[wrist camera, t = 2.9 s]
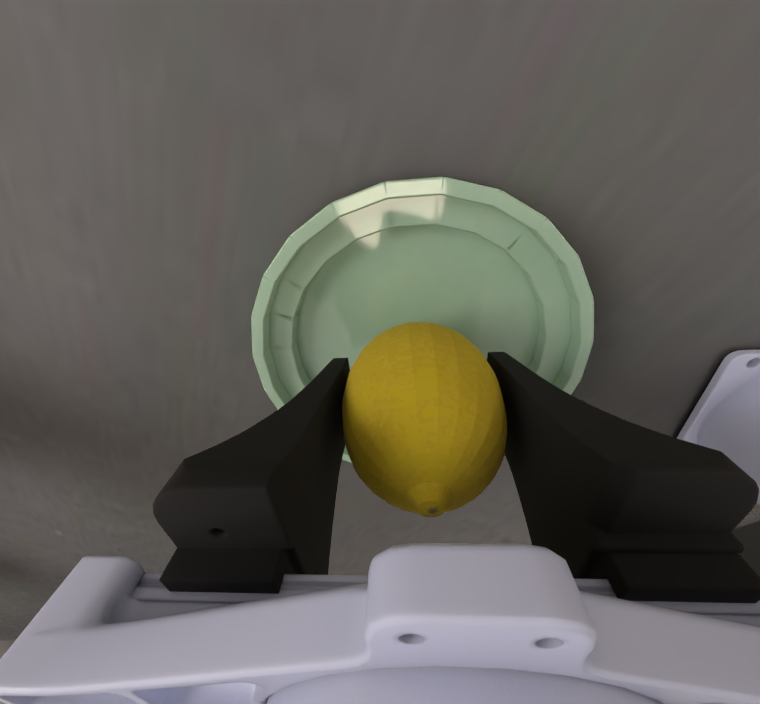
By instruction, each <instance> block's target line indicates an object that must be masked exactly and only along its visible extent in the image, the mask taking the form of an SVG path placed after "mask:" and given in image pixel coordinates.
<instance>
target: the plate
mask: <svg viewBox="0 0 760 704" xmlns="http://www.w3.org/2000/svg"><path fill="white" fill-rule="evenodd" d="M251 316H252V317H251V325H252V354H253V358H254V361H255V364H256V367H257V370H258V373H259V376H260V379H261V382H262V385H263V388H264V390H265V392H266V393H267V395H268V396H269V398H270V399H271V401H272V402H273V404H274V405H275V407H276V408H277V410H278V409H280V408H281V407H282V406H284V405H285V404H286V403H288V402H289V401H290V400H291V399H292V398H294V397H295V396H296V395H297V394H298V393H299V392H300V391H301V390H302V389H304V388H305V387H306V386H307V385H308V384H309V383H310V382H311V381H312V380H313V379H314V378H315V377H316V376H317V375H318V374H319V373H320V372H321V371H322V370H323V369H324V367H325V366H326V365H327V364H328V363H329V362H330V361H331V360H332V359H333V358H348V360H349V367H350V370H351V368H352V366H353V364H354V363H355V361H356V359H357V358H358V356H359V354H360V353H361V351H362V350H363V348H364V347H365V346H366V345H367V344H368V343H370V342H371V341H372V340H373V339H374V338H375V337H376V336H377V335H379V334H381V333H383V332H384V331H386V330H388V329H390V328H392V327H394V326H397V325H401V324H405V323H408V322H429V323H434V324H439V325H443V326H445V327H448V328H450V329H452V330H454V331H456V332H458V333H460V334H462V335H463V336H464V337H465V338H467V339H468V340H469V341H470V342H471V343H472V344H474V345H475V346H476V347H477V348H478V349H479V350H480V351H481V353H482V354H483V355H484V357H485V359H486V360H487V355H488V352H505V353H507V354H508V355H510V356H511V357H513V358H514V359H516V360H517V361H519V362H520V363H521V364H523V365H524V366H526V367H527V368H528V369H530V370H531V371H533V372H534V373H536V374H537V375H539V376H540V377H542V378H543V379H545V380H546V381H548V382H550V383H551V384H553V385H554V386H556V387H558V388H560V389H561V390H563V391H565V392H566V393H568V394H570V395H571V394H572V393H573V391H574V390H575V388H576V387H577V385H578V384H579V382H580V381H581V378H582V376H583V373H584V370H585V367H586V364H587V361H588V358H589V355H590V352H591V348H592V345H593V341H594V297H593V294H592V292H591V289H590V286H589V283H588V280H587V277H586V274H585V271H584V269H583V266H582V263H581V260H580V257H578V254H577V253H576V252H575V250H574V249H573V248H572V247H571V246H570V244H569V243H568V242H567V241H566V239H565V238H564V237H563V236H562V235H561V233H560V232H559V231H558V230H557V228H556V227H555V226H554V225H553V224H552V222H551V221H550V220H549V219H547V217H546V216H544V215H542V214H541V213H539V212H537V211H536V210H534V209H533V208H531V207H529V206H528V205H526V204H524V203H523V202H521V201H519V200H518V199H516V198H514V197H513V196H511V195H509V194H508V193H506V192H504V191H503V190H500V189H497V188H492V187H488V186H483V185H479V184H475V183H470V182H466V181H461V180H457V179H452V178H448V177H441V176H431V177H419V178H406V179H394V180H386V181H382V182H380V183H377V184H375V185H372V186H370V187H367V188H365V189H362V190H360V191H357V192H355V193H352V194H350V195H347V196H345V197H342V198H340V199H338V200H335V201H333V202H332V203H330V204H328V205H327V206H326V207H325V208H323V209H322V210H321V211H320V212H318V213H317V214H316V215H315V216H313V217H312V218H311V219H310V220H308V221H307V222H306V223H305V224H303V225H302V226H301V227H300V228H298V229H297V230H296V231H295V232H293V233H292V234H291V235H290V236H289V237H288V239H287V240H286V242H285V243H284V244H283V246H282V247H281V249H280V250H279V252H278V253H277V255H276V256H275V258H274V259H273V261H272V262H271V264H270V265H269V267H268V268H267V270H266V271H265V273H264V275H263V276H262V280H261V283H260V287H259V290H258V294H257V297H256V301H255V305H254V308H253V312H252V315H251ZM504 454H505V453H504ZM342 460H345V461H347V462H350V463H352V462H351V460H350V457H349V455H348V452H347V449H346V445H345V448H344V453H343V457H342Z"/></svg>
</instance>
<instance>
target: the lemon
mask: <svg viewBox="0 0 760 704" xmlns="http://www.w3.org/2000/svg"><path fill="white" fill-rule="evenodd" d="M342 419H343V431H344V440H345V445H346V449H347V452H348V455H349V457H350V460H351V462H352V464H353V466H354V469H355V471H356V472H357V474H358V475H359V477H360V478H361V479H362V481H363V482H364V483H365V484H366V485H367V486H368V487H369V488H370V490H371V491H372V492H373V493H375V494H376V495H377V496H379V497H380V498H382V499H383V500H385V501H386V502H387V503H389V504H390V505H393V506H395V507H397V508H400V509H402V510H405V511H408V512H413V513H417V514H421V515H423V516H426V517H436V516H439V515H441V514H443V513H444V512H449V511H452V510H454V509H457V508H459V507H461V506H463V505H465V504H467V503H469V502H470V501H472V500H473V499H475V498H476V497H477V496H478V495H479V494H480V493H481V492H482V491H483V490H484V489H485V488H486V487H487V486H488V485H489V484H490V483H491V481H492V480H493V478H494V477H495V475H496V473H497V471H498V469H499V467H500V465H501V462H502V460H503V457H504V452H505V445H506V437H507V417H506V410H505V405H504V401H503V397H502V393H501V389H500V385H499V382H498V379H497V377H496V375H495V373H494V371H493V369H492V368H491V366H490V365H489V363H488V362H487V360H486V359H485V357H484V355H483V354H482V353H481V351H480V350H479V349H478V348H477V347H476V346H475V345H474V344H472V343H471V342H470V341H469V340H468V339H467V338H465V337H464V336H463V335H462V334H460V333H458V332H456V331H454V330H452V329H450V328H448V327H445V326H443V325H439V324H434V323H429V322H408V323H405V324H401V325H397V326H394V327H392V328H390V329H388V330H386V331H384V332H383V333H381V334H379V335H377V336H376V337H375V338H374V339H373V340H372V341H371V342H370V343H368V344H367V345H366V346H365V347H364V348H363V350H362V351H361V353H360V354H359V356H358V358H357V359H356V361H355V363H354V364H353V366H352V368H351V370H350V372H349V375H348V379H347V382H346V387H345V391H344V395H343V401H342Z"/></svg>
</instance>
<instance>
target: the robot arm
mask: <svg viewBox="0 0 760 704" xmlns="http://www.w3.org/2000/svg"><path fill="white" fill-rule="evenodd" d="M487 362H488V363H489V365H490V366H491V368H492V369H493V371H494V373H495V375H496V377H497V379H498V382H499V385H500V389H501V393H502V397H503V401H504V405H505V410H506V417H507V437H506V445H505V452H504V453H505V456H506V458H507V461H508V463H509V466H510V468H511V471H512V474H513V477H514V481H515V484H516V487H517V491H518V494H519V497H520V501H521V504H522V508H523V512H524V515H525V519H526V522H527V526H528V530H529V534H530V538H531V542H532V545H527V544H475V543H410V544H403V545H395V546H391V547H389V548H387V549H386V550H384V551H382V552H380V553H378V554H377V555H376V556H374V557H373V559H372V562H371V565H370V567H369V573H368V575H328V567H329V555H330V545H331V535H332V525H333V516H334V508H335V499H336V491H337V484H338V476H339V471H340V465H341V461H342V457H343V453H344V448H345V440H344V431H343V419H342V401H343V395H344V391H345V387H346V382H347V379H348V375H349V372H350V367H349V360H348V358H333V359H332V360H331V361H330V362H329V363H328V364H327V365H326V366H325V367H324V369H323V370H322V371H321V372H320V373H319V374H318V375H317V376H316V377H315V378H314V379H313V380H312V381H311V382H310V383H309V384H308V385H307V386H306V387H305V388H304V389H302V390H301V391H300V392H299V393H298V394H297V395H296V396H295V397H294V398H292V399H291V400H290V401H289V402H288V403H286V404H285V405H284V406H282V407H281V408H280V409H278V410H277V411H276V412H274V413H273V414H271V415H270V416H268V417H267V418H265V419H263V420H262V421H260V422H259V423H257V424H256V425H254V426H252V427H251V428H249V429H247V430H245V431H244V432H242V433H240V434H238V435H236V436H234V437H232V438H230V439H228V440H227V441H225V442H222V443H220V444H218V445H216V446H214V447H212V448H209V449H207V450H205V451H202V452H200V453H198V454H195V455H193V456H191V457H188V458H186V459H184V460H183V462H182V463H181V464H180V466H179V467H178V468H177V470H176V471H175V472H174V474H173V475H172V477H171V478H170V479H169V481H168V482H167V483H166V485H165V486H164V487H163V489H162V490H161V492H160V493H159V494H158V496H157V497H156V499H155V501H154V503H153V512H154V516H155V517H156V519H157V521H158V523H159V524H160V526H161V527H162V528H163V529H164V531H165V532H166V533H167V535H168V536H169V537H170V538H171V540H172V541H173V542H174V544H175V545H176V546H177V550H176V551H175V553H174V555H173V556H172V558H171V560H170V562H169V563H168V565H167V567H166V569H165V570H164V572H144V569H143V568H142V566H141V565H140V564H139V563H138V562H137V561H136V560H134V559H132V558H129V557H126V556H100V555H88V556H85V557H83V558H82V559H81V560H80V562H79V563H78V564H77V565H76V567H75V568H74V569H73V570H72V571H71V573H70V574H69V575H68V576H67V578H66V579H65V580H64V581H63V583H62V584H61V585H60V586H59V588H58V589H57V590H56V591H55V592H54V594H53V595H52V596H51V597H50V599H49V600H48V601H47V602H46V604H45V605H44V606H43V607H42V609H41V610H40V611H39V612H38V613H37V615H36V616H35V617H34V618H33V620H32V621H31V622H30V623H29V625H28V626H27V627H26V628H25V630H24V631H23V632H22V633H21V634H20V636H19V637H18V638H17V639H16V641H15V642H14V643H13V644H12V646H11V647H10V648H9V649H8V651H7V652H6V653H5V654H4V656H3V657H2V658H1V659H0V701H1V702H3V703H6V704H760V577H759V576H758V575H757V574H756V573H755V572H754V570H753V569H752V568H751V567H750V566H749V565H748V564H747V563H746V562H745V560H744V559H742V557H741V556H740V555H739V554H738V553H741V552H742V551H743V550H744V547H743V545H742V544H741V543H740V542H739V541H738V540H737V538H736V537H735V536H734V535H733V534H732V533H731V531H732V530H733V529H734V528H735V527H736V526H737V525H738V524H739V523H740V522H741V521H742V520H743V519H744V517H745V516H746V515H747V514H748V513H749V512H750V511H751V510H752V508H753V507H754V505H755V504H756V503H757V504H758V505H760V350H739V351H734V352H732V353H730V354H728V355H727V356H726V357H725V358H724V359H723V361H722V362H721V364H720V366H719V367H718V369H717V371H716V373H715V374H714V376H713V378H712V379H711V381H710V383H709V384H708V386H707V388H706V389H705V391H704V393H703V394H702V396H701V398H700V399H699V401H698V403H697V404H696V406H695V408H694V410H693V411H692V413H691V415H690V416H689V418H688V420H687V421H686V423H685V425H684V426H683V428H682V430H681V431H680V433H679V435H678V436H677V438H673V437H670V436H667V435H664V434H661V433H658V432H656V431H653V430H650V429H647V428H644V427H641V426H639V425H636V424H633V423H631V422H628V421H626V420H623V419H621V418H618V417H616V416H614V415H611V414H609V413H606V412H604V411H602V410H600V409H598V408H595V407H593V406H591V405H589V404H587V403H585V402H583V401H581V400H579V399H577V398H575V397H574V396H572V395H570V394H568V393H566V392H565V391H563V390H561V389H560V388H558V387H556V386H554V385H553V384H551V383H550V382H548V381H546V380H545V379H543V378H542V377H540V376H539V375H537V374H536V373H534V372H533V371H531V370H530V369H528V368H527V367H526V366H524V365H523V364H521V363H520V362H519V361H517V360H516V359H514V358H513V357H511V356H510V355H508V354H507V353H505V352H488V355H487Z"/></svg>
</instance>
